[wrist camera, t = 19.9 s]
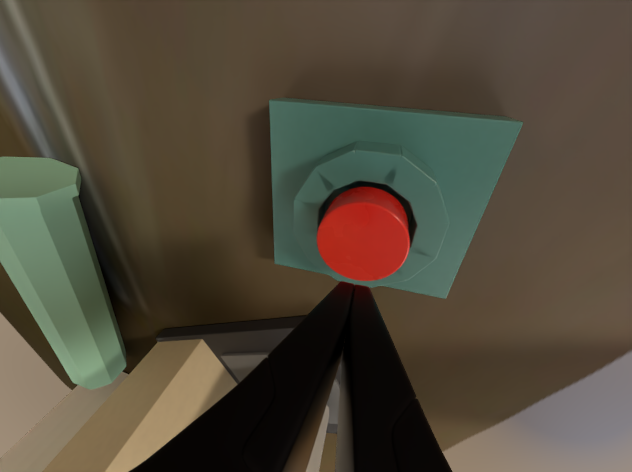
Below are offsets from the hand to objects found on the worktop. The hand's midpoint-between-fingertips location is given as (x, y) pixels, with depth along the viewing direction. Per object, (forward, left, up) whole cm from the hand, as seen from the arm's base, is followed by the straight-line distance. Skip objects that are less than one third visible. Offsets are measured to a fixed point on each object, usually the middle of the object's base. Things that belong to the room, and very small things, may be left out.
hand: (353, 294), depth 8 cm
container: (+24, +13, -8) cm, 28 cm away
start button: (0, 0, -4) cm, 4 cm away
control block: (0, 0, -8) cm, 8 cm away
